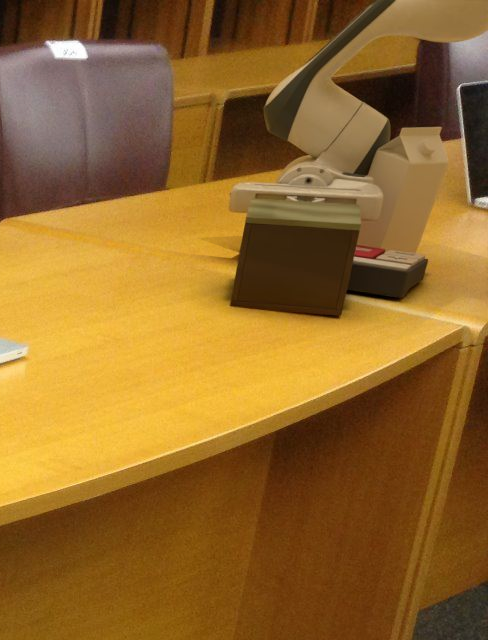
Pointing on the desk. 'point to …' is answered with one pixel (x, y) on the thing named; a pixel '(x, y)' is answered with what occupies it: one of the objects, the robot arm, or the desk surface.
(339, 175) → the robot arm
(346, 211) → the lid
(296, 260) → the chest
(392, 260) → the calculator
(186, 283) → the desk surface
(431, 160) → the milk carton
